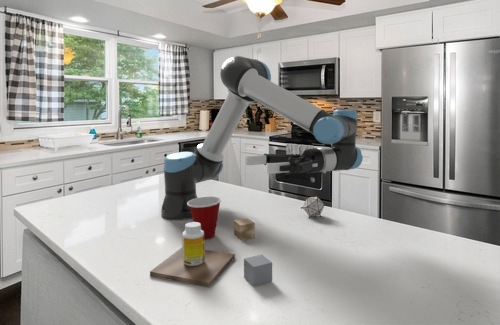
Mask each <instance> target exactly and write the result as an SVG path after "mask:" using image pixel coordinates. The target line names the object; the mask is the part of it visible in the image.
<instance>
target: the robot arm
mask: <svg viewBox="0 0 500 325" xmlns="http://www.w3.org/2000/svg"><path fill="white" fill-rule="evenodd" d="M219 74H220V79H221V83H222V84H223V85H224V86H225V87H226V88H227V91H228V94H227V95H226V98H225V100H224V102H223V103H222V106H221V108H220V109H219V112H217V115H216V117H215V119H214V121H213V123H212V125H211V127H210V129H209V130H208V133H207V135H206V137H205V139H204V141H203V142H202V143H199V144H198V145H197V146H196V148H195V150H194V152H192V151H180V152H174V153H171V154H168V155H166V156H165V158H164V160H163V173H164V176H163V177H164V192H165V194H164V198H163V201H162V206H161V212H160V213H161V217H163V218H164V217H165V219H168V220H187V219H193V218H192V214H191V210H190V208H189V206H188V205H187V202H188V201H190V200H192V199H195V198H199V197H198V195H197V184H198V183H203V182H206V181H210V180H213V179H214V178H217V177H218V176H220V174H221V173H222V171H223V167H224V164H223V162H224V155H223V153H224V150H225V148H226V146H227V145H228V143H229V141H230V140H231V137H232V135H233V134H234V132H235V131H236V129H237V127H238V125H239V123H240V121H241V119H242V117H243V115H244V114H245V112H246V110H247V108H248V106H249V105H250V104H253V103H255V102H256V103H258V104H260V105H263V106H264V107H266V108H267V109H269V110H271V111H273V112H274V113H277V115H279V116H281V117H283V118H285V119H287V120H288V121H290V122H291V123H293V124H295V125H296V126H298V127H300V128H301V129H303V130H305V131H307V132H309V133H311V135H313V136H314V138H315V139H316V140H317V142H319V143H320V144H324V145H330V146H331V147H318V148H316V147H314V148H306V149H304V150H303V152H302V154H300V153H299V154H298V153H295V154H294V153H282V154H281V153H263V154H260V155H246V157H245V161H246V162H245V163H246V164H245V165H246V166H256V165H258V166H259V165H264V166H267V168H266V171H267V172H266V173H267V175H271V174H284V173H292V174H293V173H295V174H297V175H299V174H303V173H307V174H313V173H314V174H315V173H323V174H326V173H327V172H333V171H335V172H337V171H350V170H354V169H357V168H359V167H360V166H361V164H362V162H363V154H362V151H361V149H360V148H359V147H358V146H356V140H357V139H356V138H357V129H358V128H357V127H358V126H357V125H358V123H359V122H358V121H359V120H358V111H357V110H356V109H334V110H333V112H332V114H331V113H330V112H328V111H325V110H324V109H323V108H320V107H319V106H317V105H315V104H313V103H311V102H310V101H308V100H305V99H304V98H302V97H301V96H298V95H296V94H294V93H293V92H291V91H289V90H288V89H286V88H284V87H283V86H280V85H279V84H276V83H275V82H274V81H272V75H271V70H270V68H269V66H268V65H267V64H266V63H265V62H263V61H260V60H258V59H256V58H249V57H246V56H245V57H244V56H240V55H235V56H231V57H229V58H227V59H226V60H225V61H224V62H223V63H222V66H221V67H220V73H219Z"/></svg>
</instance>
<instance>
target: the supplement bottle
mask: <svg viewBox="0 0 500 325" xmlns="http://www.w3.org/2000/svg"><path fill="white" fill-rule="evenodd" d="M181 237H182V238H181V241H182V242H181V244H182V246H181V248H182V247H183V262H184V264H186V265H188V266H197V265H200V264H202V263H203V262H204V260H205V253H204V250H205V239H204V232H203V231H202V230H201V224H200V223H198V222H193V221H190V222H187V223H185V225H184V230H183V232H182V234H181Z"/></svg>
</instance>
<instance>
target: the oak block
mask: <svg viewBox="0 0 500 325" xmlns="http://www.w3.org/2000/svg"><path fill="white" fill-rule="evenodd" d="M255 224H256V223H255V222H254V221H253V220H252V219H250V218H240V219H234V220H233V234H234V236H235V237H236V239H238V240H239V241H244V240H249V239H255V237H256V236H255V235H256V234H255V233H256V231H255V230H256V225H255Z"/></svg>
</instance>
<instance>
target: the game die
mask: <svg viewBox="0 0 500 325" xmlns="http://www.w3.org/2000/svg"><path fill="white" fill-rule="evenodd" d="M325 206H327V204H326V203H325V204H324V202H323V201H322V200H321V199H320V198H319V194H317V195H316V196H310V197H309V196H307V195H305V201H304V203H303V206H301V207H300V209H303V210H304V211H305V213H306V214H307V215H308V219H310V218H311V217H317V216H318V217H320V218H321V217H322V215H321V214H322V212H323V210H324V208H325Z"/></svg>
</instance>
